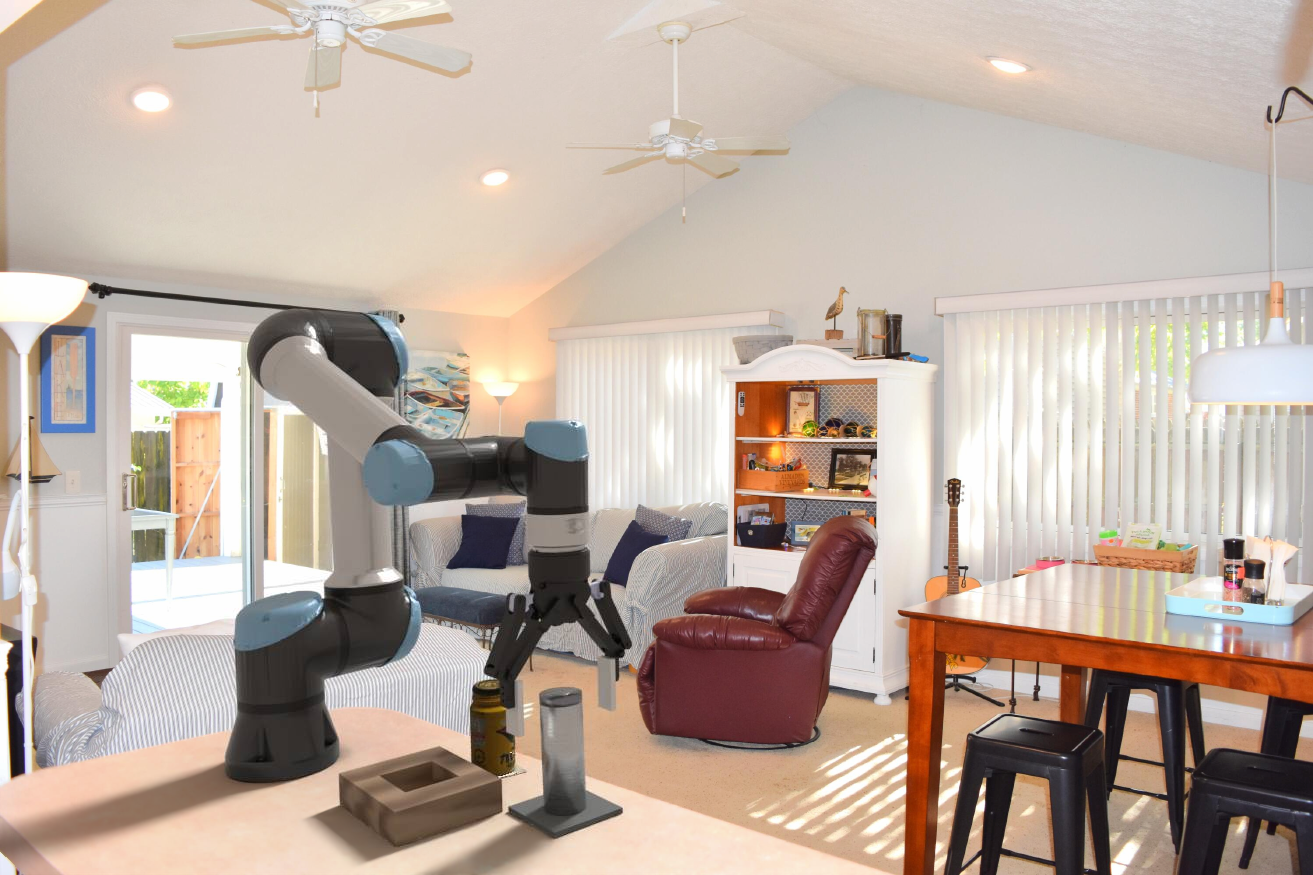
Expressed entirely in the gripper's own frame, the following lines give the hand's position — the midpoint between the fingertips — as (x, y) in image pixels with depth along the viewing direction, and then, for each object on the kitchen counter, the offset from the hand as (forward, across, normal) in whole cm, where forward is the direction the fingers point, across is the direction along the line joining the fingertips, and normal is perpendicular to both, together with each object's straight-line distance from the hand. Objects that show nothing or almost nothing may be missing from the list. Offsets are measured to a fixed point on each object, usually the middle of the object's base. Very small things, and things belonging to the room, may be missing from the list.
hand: (563, 720), depth 116 cm
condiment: (+12, 0, +18) cm, 22 cm away
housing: (+11, -12, +14) cm, 22 cm away
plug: (+11, 0, 0) cm, 11 cm away
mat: (+11, 0, 0) cm, 11 cm away
